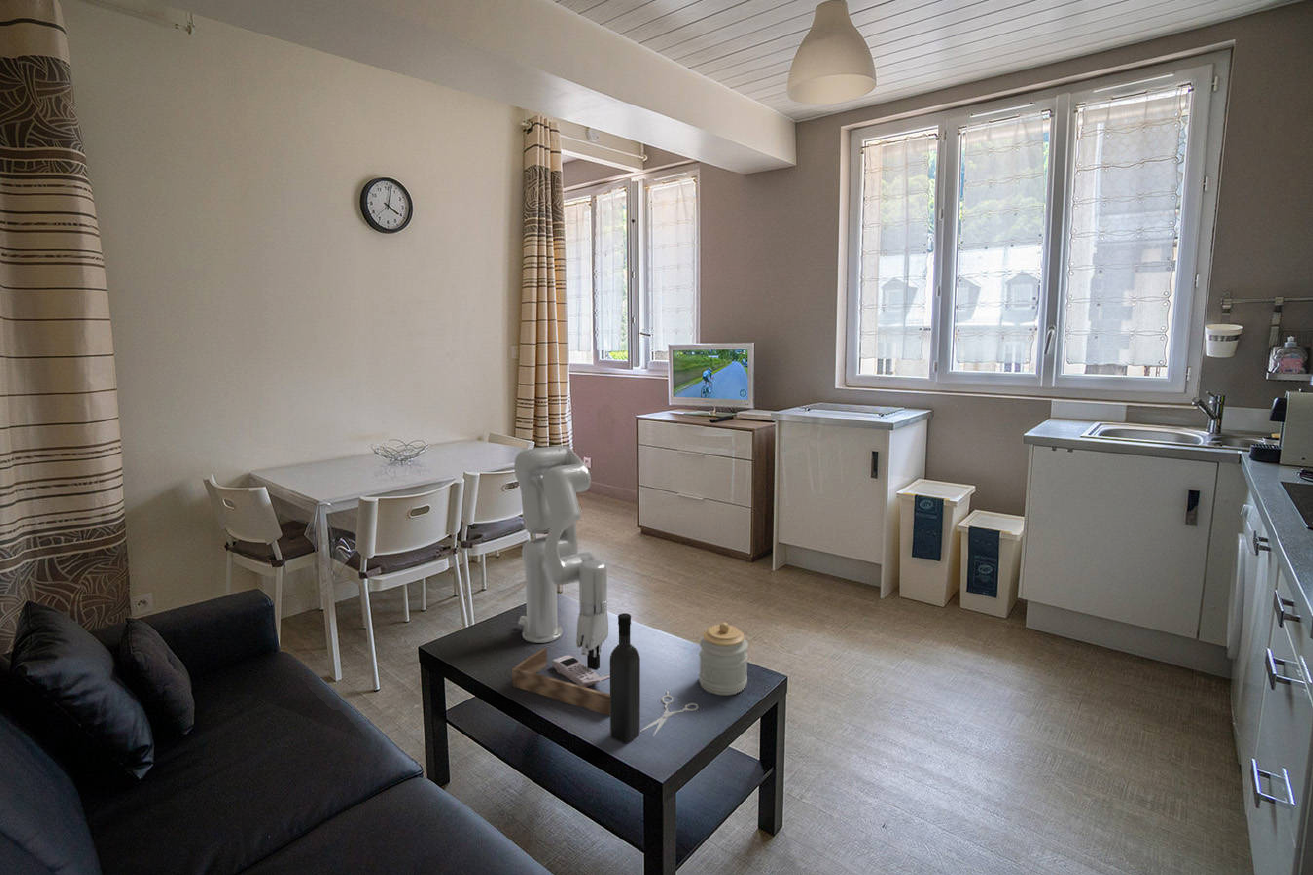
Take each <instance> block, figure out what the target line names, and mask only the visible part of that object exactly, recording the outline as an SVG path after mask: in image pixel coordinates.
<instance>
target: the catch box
mask: <svg viewBox="0 0 1313 875" xmlns="http://www.w3.org/2000/svg"><path fill="white" fill-rule="evenodd" d="M547 652H548V650H547V648H546V647H542V649H540V650H538V651H537V652H535V653H534V654H532V655H530V656H529V657H528V658H526V659H525V660H523V661H522V662H520V663H519V664H518V665H516V666H514V667H513V668H512V669H511V670H512V671H511V672H512V687H515V688H518V689H521V690H523V691H528V692H530V693H535V694H538V695H540V696H544V697H547V698H551V699H553V700H558V701H561V702H565V703H567V704H571V705H574V706H577V707H581V708H584V709H586V710H591V711H593V710H594V711H593V712H597V713H600V714H603V715H607V716H610V693H606V692H602V691H598V690H595V689H592V688H588V687H586V688H585V687H582V686H579V685H577V684H576V683H575V684H574V683H571V682H569V681H568V682H567V681H564V680H562V679H561V680H560V679H557V678H554V677H551V676H546V675H543V674H539V673H537V672H539V671H540V670H541V669H542V670H543V668H544V667H546V666H547V665H548V664H547V662H548V661H547V660H548V659H547V658H548V656H547Z"/></svg>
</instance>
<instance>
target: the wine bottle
mask: <svg viewBox="0 0 1313 875" xmlns="http://www.w3.org/2000/svg"><path fill="white" fill-rule="evenodd" d="M617 620H618V621H617V622H618V623H617V625H618V643H617V645H616V646H615V647H614V649H613V650H611V653H610V656H609V675H610V678H609V694H610V715H609V736H610V738H612V739H615V740H617V741H619V742H622V743H623V744H624V743H625V744H628V743H630V742H631V741H633V739H635V738H636V737H637V736H639V734H640V733H641V732H640V731H641V730H640V717H641V716H640V714H641V713H640V708H641V707H640V699H641V698H640V691H641V690H640V688H641V684H640V680H641V679H640V678H641V674H640V673H641V672H640V671H641V670H640V669H641V668H640V666H641V665H640V664H641V662H640V660H641V659H640V654H639V651H638V649H637V648H636V647H635V646H634V645H632V643H631V631H632V630H631V625H632V615H631V614H630V613H620V614H618V615H617Z"/></svg>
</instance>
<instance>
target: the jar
mask: <svg viewBox="0 0 1313 875" xmlns="http://www.w3.org/2000/svg"><path fill="white" fill-rule="evenodd" d="M745 637H746V636H745V634H744V632H743V631H742V630H740V629H739V628H737V627H735V626H734V625H733V626H732V625H729V624H728V623H727V622H721V623H720V624H716V625H713V626H710V627H709V628H707V629H705V630H704V632H703V633H702V638H701V639H700V641H699V645H700V648H701V650H700V651H699V674H698V675H699V677H698V679H699V684H700V686H701V688H702V689H703V690H705V691H706V692H708V693H710V694H713V695H715V696H734V695H737V693H738V694H740V693H741V692H743V691H744V690H745V689H746V687H747V683H748V682H747V681H748V676H747V665H748V664H747V662H748V654H747V649H748V647H749V645H748V642H747V640H746V638H745ZM745 686H746V687H745ZM744 688H745V689H744ZM742 690H743V691H742ZM739 692H740V693H739Z"/></svg>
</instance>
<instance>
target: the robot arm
mask: <svg viewBox="0 0 1313 875" xmlns="http://www.w3.org/2000/svg"><path fill="white" fill-rule="evenodd" d="M513 466H514V468H513V469H514V475H515V477H516V480H517V482H518V485H519V488H520V493H521V494H520V495H521V504H522V515H523V523H524V526H525V530H526V531H527V533H530V534H535V535H536V534H544V533H547V535H545V536H540V537H535V538H532V539H530V540H527V541H526V543H524V544H523V547H522V550H521V554H522V561H523V565H524V572H525V589H526V597H525V598H526V615H520V618H519V621H518V625H519V626H523V627H524V629H523V630H522V632H521V634H522V638H523V639H524V640H525V641H527V642H530V643H535V644H536V643H537V644H539V643H541V644H543V643H550V642H554V641H555V640H556V641H557V640H558V639H559V638H561V637H562V636H563V633H564V632H563V627H561V625H559V623H558V586H564V585H565V586H566V585H570V584H573V583H577V582H578V587H579V588H578V590H579V595H578V596H579V598H578V599H579V602H578V603H579V607H578V608H579V613H578V617H577V623H576V640H575V642H576V644H575V645H576V647H577V649H578V648H581V656H582V655H583V656H586V659H587V660H586V662H587V663H586V664H587V665H586V667H588V668H589V669H591V670H594V671H598V670H599V669H600V668H601V653H602V645H603V643H604V642H605V641H606V640H607V638H608V636H609V621H608V611H607V609H608V607H607V606H608V605H607V604H608V601H607V600H608V599H607V566H606V565H607V564H605V563H604V562H603V561H600V560H598V559H597V557H596V556H595V555H594V554H593V553H590V552H581V553H578V548H579V547H578V537H577V528H576V523H577V522H578V521H579V520H580V519H581V516H582V513H581V510H580V505H579V502H578V498H577V494H576V493H579V492H585V491H586V492H587V490H589V489H590V487H591V483H592V477H591V473H590V470H589V469H588V467H587V466H586V464H585V463H584V461H583V460H582V459H581V458H580V457H579V456H578V455H577V454H576V453H575V451H573V450H572V449H571V448H570V447H569V446H565V445H555V446H547V447H535V448H530V449H526V450H522V451H520V452H518V454H517V455H516V456H515V459H514V465H513ZM541 476H542V477H541Z"/></svg>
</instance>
